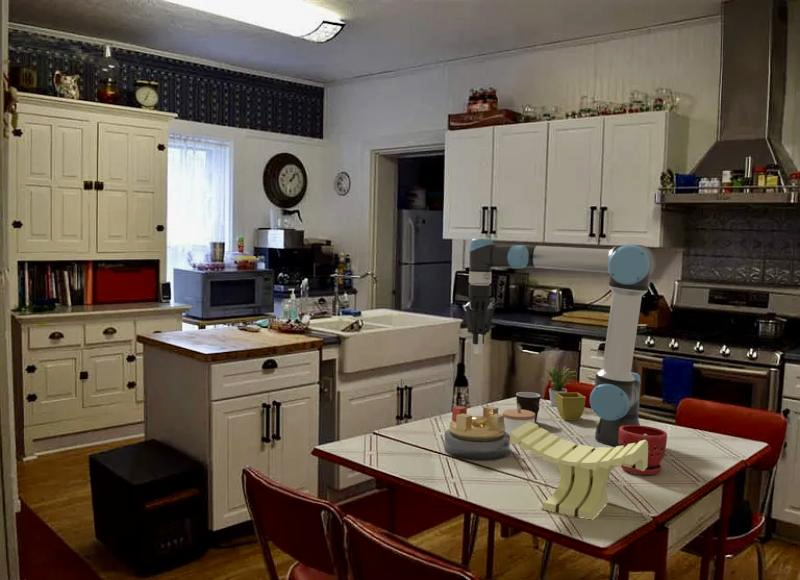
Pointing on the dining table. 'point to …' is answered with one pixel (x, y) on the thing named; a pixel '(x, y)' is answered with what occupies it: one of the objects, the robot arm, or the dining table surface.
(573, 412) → the flower pot
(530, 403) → the coffee mug
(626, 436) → the plant pot
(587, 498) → the slatted curved stool
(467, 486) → the dining table surface
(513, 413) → the lidded jar
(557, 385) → the house plant
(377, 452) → the dining table surface
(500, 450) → the base
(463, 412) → the ring nut
